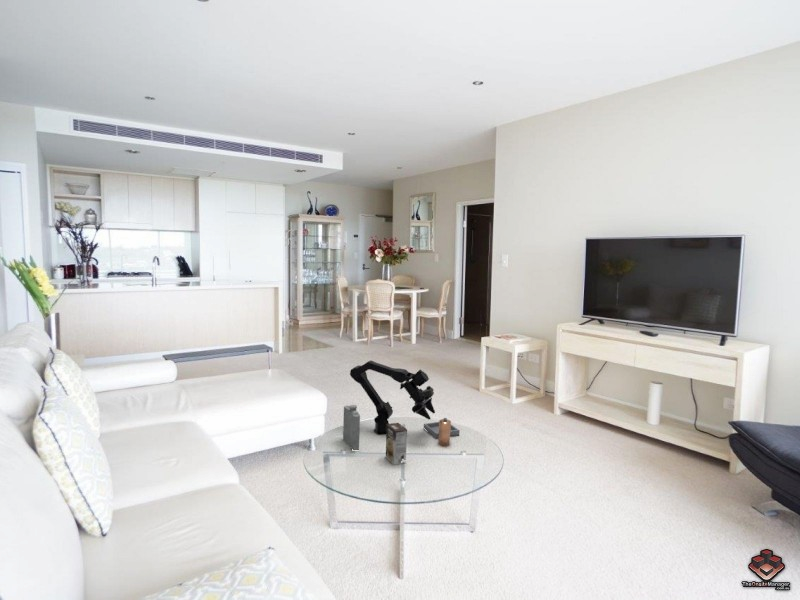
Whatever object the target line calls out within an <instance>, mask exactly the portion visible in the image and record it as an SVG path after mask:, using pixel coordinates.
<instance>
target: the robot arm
mask: <svg viewBox="0 0 800 600" xmlns="http://www.w3.org/2000/svg"><path fill="white" fill-rule="evenodd" d="M367 371H373V372H375V373H380V374H382V375H385V376H387V377H390V378H391V379H393V381H395V382H397V383H400V384H399V385H400V388H399V390H402V389H405V391H406V393H408V395H409V398H410V399H412V401H413V402H414V403H413V404H414V405H413V406H412V407H411V411H412V412H413V414H417V415H420V416H421V417H423V418H425V419H427V420H431V419H432V417H431V415H430V414H429V413H428V411H429V412H430V413H432V414H435V413H436V411H435V408H434V406H433V402H432V401H433V396H434V395H435V392H434V391H435V389H434V388H433V387H432V386H431V385H427V386H426V388H425V389H422V388H419V387H422V386H423V385H424V384H426V383H427V382H429V380H430V379H429V375H428V374H427V373H426V372H425V371H423V370H422V369H421V368H420V369H419V370H418V371H416V372H415V373H413V372H409V371H408V370H407V369H406V368H395V367H394V368H393V367H391V366H387V365H385V364H383V363H382V364H381V363H380V362H379V363H378V362H376V361H373V360H368V361H367V362H365V363H364V364H363V365H359V364H358V365H356V366H354V367H353V368H351V369H350V371H349V375H350V377H351V379H353V380H354V382H357V383H358V384H359V385H360V386H361V387H362V388H363V390H364V392H365V393H366V395H367V396H368V397H369V399H370V400H371V402H372V404H373V405H374V407H375V411H376V414H377V415H376V416H375V417H374V419H373V420H374V425H375V426H374V428H373V431H374V433H376V434H377V435H384V434H385V435H386V432H387V424H390V422H389V419H390V418H391V417H392V415H393V414H394V413H393V412H394V410H393V407H392V406H391V404H390V402H389V401H386V402H385V401H384V400H383V399H382V398H381V395H379V393H378V392H377V390H376V389H375V388H374V386H373V385H372V383H371V382H370V380H369V379H368V373H367ZM427 410H428V411H427Z"/></svg>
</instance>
